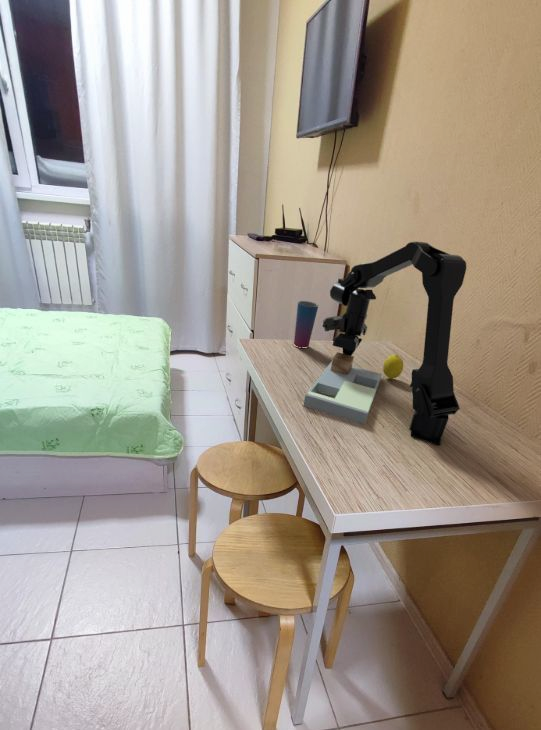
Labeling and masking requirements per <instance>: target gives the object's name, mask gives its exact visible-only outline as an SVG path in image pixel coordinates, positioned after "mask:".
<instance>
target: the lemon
mask: <svg viewBox="0 0 541 730" xmlns="http://www.w3.org/2000/svg"><path fill="white" fill-rule="evenodd" d="M382 369H383V374H384V375H385V376H386V377H387V378H388V380H392V379H396V378H398V377H399V376H401V374H402V373H403V371H404V361H403V358H402V357H400V356H399V355H398V354H393V355H389V356H388V357H387V358H386V359H385V361H384V363H383V367H382Z"/></svg>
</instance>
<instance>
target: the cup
mask: <svg viewBox="0 0 541 730" xmlns="http://www.w3.org/2000/svg"><path fill="white" fill-rule="evenodd" d="M296 307H297V308H296V317H295V318H296V319H295V329H294V340H293V345H294V344H295V345H296V346H298V347H307V346H308V347H309V346H310V341H311V339H312V334H313V329H314V325H315V323H316V321H315V320H316V317H317V313H318V308H319V304H318V303H316V302H313V301H308V300H299V301H297V306H296Z"/></svg>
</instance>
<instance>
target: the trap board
mask: <svg viewBox="0 0 541 730" xmlns="http://www.w3.org/2000/svg"><path fill="white" fill-rule="evenodd" d="M331 365H332V360H331V361H330V363H329V364H328V365H327V367H326V368H325V369H324V370H323V372H322V374H320V376H319V378H318V379H317V380H316V382H315V383H314V384H313V386H312V387H311V388H310V390H309V391H308V392H307V393H305V395H304V401H303V406H304V407H307V408H309V409H313V410H316V411H319V412H322V413H325V414H328V415H332V416H336V417H338V418H342V419H345V420H347V421H351V422H355V423H358V424H360V425H365V424H366V421H367V418H368V417H369V413H370V410H371V407H372V404H373V402H374V398H375V396H376V393H377V391H378V387H379V385H380V382H381V378H382V373H379V372H376V371H371V370H368V369H364V368H361V367H357V366H353V365H352V368H351V370H350V372H349V373H348V375H345V374H342V373H338V372H335V371H331ZM317 392H318V393H317ZM321 393H322V394H321ZM324 394H325V395H324ZM327 395H328V396H327ZM331 396H332V397H331Z"/></svg>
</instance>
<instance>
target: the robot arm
mask: <svg viewBox="0 0 541 730" xmlns="http://www.w3.org/2000/svg"><path fill="white" fill-rule="evenodd" d="M410 266H413V268H415V269H416V270H418V271H419V272H421V278H422V279H421V280H422V286H423V288H424V290H425V292H426V295H427V299H428V301H427V312H426V324H425V333H424V336H425V337H424V345H423V357H422V363H421V365H420V366H419V367H418V368H415V369H412V371H411V382H410V385H409V388H411V393H412V410H413V411H414V412H413V414H412V417H411V420H410V424H409V431H410V437H411V438H414V439H417V440H421V441H423V442H424V441H425V442H427V443H430V444H434V445H436V446H441V445H442V438H443V434H444V431H445V429H446V427H447V424H448V421H449V415H456V413H458V411H459V410H460V405H459V402H458V400H457V397H456V395H455V392H454V376H453V374H452V372H451V370H450V367H449V366H448V361H449V360H448V359H449V348H450V340H451V339H450V338H451V329H452V320H453V307H454V300H455V297H456V295H457V294H458V292H459V290H460V289H461V288H462V286H463V284H464V279H465V276H466V271H467V262H466V260H465V259H463V257H462V256H460V255H457V254H450V253H449V252H446V251H443V250H441V249H438V248H436V247H434V246H432V245H431V244H429V243H428V242H423V241H410V242H408V243H407V244H406V245H404V246H403V247H401V248H399V249H397V250H395V251H393V252H391V253H389V254H387V255H385V256H384V257H381V258H380V259H377V260H375V261H372V262H365V263H359V264H356V265H354V266H352V268H351V269H350V271H349V273H348V274H347V276H346V277H345V278H338V280H337V282H336V283H335V284H333V286H332V287H331V289H330V290H329V294H330V295H329V296H330V298H331V300H332V301H335V302H336V303H339V304H341V305H343V306H345V307H346V308H345V312H344V313H343V314H342V315H336V316H335V315H334V316H328V317H325V318H324V319H323V320H322V328H323V329H324V331H325V332H329V331H336V330H338V332H339V333H338V334H337V335H335V337H334V338H333V341H332V346H333V347H337V348H341V349H342V353H343V354H346V355H350V356H353V354H354V353H355V351H356V350H357V349H358V347H359V346H360V344H361V342H362V341H363V339H362V338H360V337H361V336H365V335H366V334H367V332H368V331H367V330H368V326H367V325H366V323H365V322H366V320H367V318H368V314H367V313H368V311H369V310H368V309H369V306H370V305H369V304H370V301H371V300H374V301H375V300H376V299H377V296H376V294H375V293H374V291H373V288H375V287H376V286H378V285H379V284H381V283H382V282H383V281H384V280H385V278H386V277H387V276H389V275H392V274H394V273H396V272H399V271H401V270H403V269H405V268H408V267H410ZM369 288H371V289H369Z"/></svg>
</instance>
